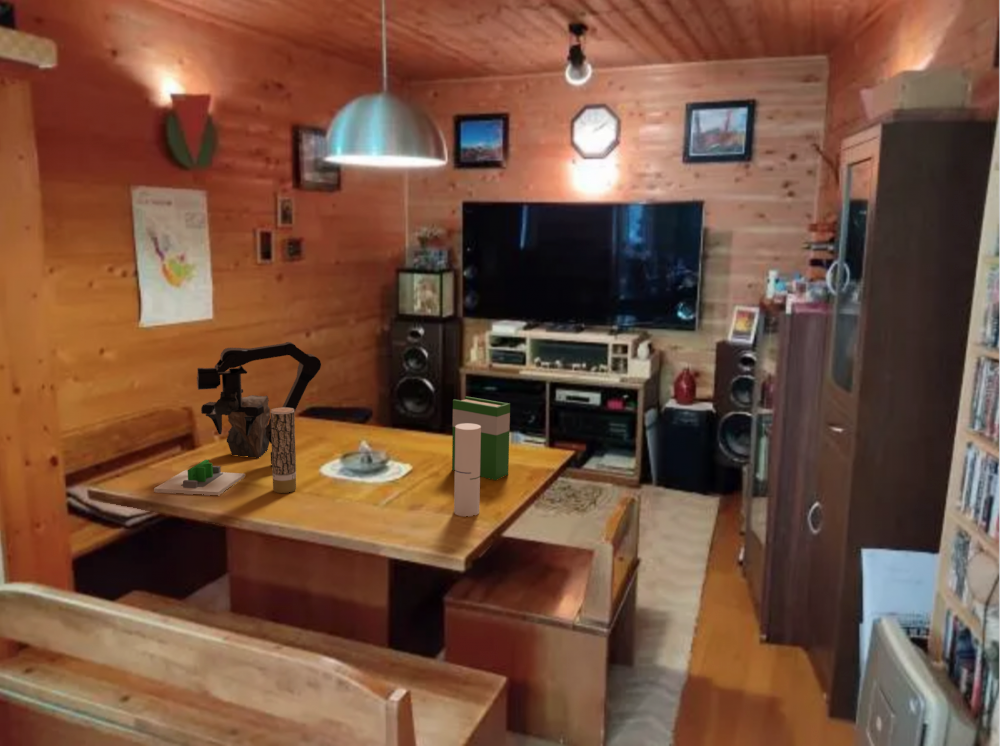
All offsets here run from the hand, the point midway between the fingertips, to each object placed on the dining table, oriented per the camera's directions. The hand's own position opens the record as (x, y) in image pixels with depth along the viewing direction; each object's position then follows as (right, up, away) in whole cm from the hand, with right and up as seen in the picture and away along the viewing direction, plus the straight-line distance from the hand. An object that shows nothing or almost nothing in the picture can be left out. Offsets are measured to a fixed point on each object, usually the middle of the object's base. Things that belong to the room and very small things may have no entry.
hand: (233, 434), depth 246 cm
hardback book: (+80, -13, +6) cm, 81 cm away
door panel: (-6, -14, -12) cm, 20 cm away
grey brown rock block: (-1, -9, +21) cm, 23 cm away
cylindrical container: (+77, -20, -30) cm, 85 cm away
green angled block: (-6, -13, -11) cm, 18 cm away
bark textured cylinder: (+21, -16, -16) cm, 31 cm away
